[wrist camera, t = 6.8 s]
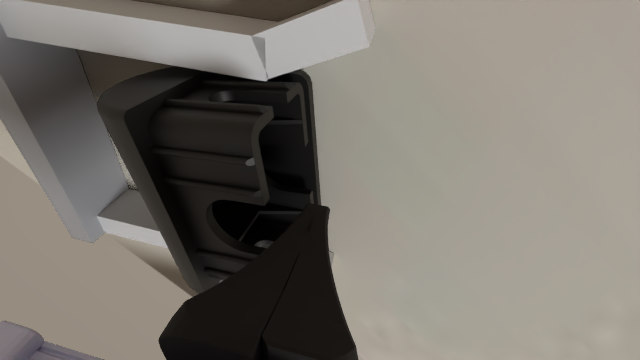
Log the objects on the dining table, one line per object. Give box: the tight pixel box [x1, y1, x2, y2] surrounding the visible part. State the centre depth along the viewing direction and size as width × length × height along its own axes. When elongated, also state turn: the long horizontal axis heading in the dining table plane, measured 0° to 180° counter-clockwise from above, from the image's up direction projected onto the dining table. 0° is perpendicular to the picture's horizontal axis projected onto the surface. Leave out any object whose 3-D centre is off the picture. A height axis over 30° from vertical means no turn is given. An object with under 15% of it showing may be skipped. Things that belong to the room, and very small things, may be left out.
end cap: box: [97, 66, 321, 294], centre depth 15 cm, size 10×7×7 cm
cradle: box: [0, 0, 375, 266], centre depth 17 cm, size 18×17×4 cm
